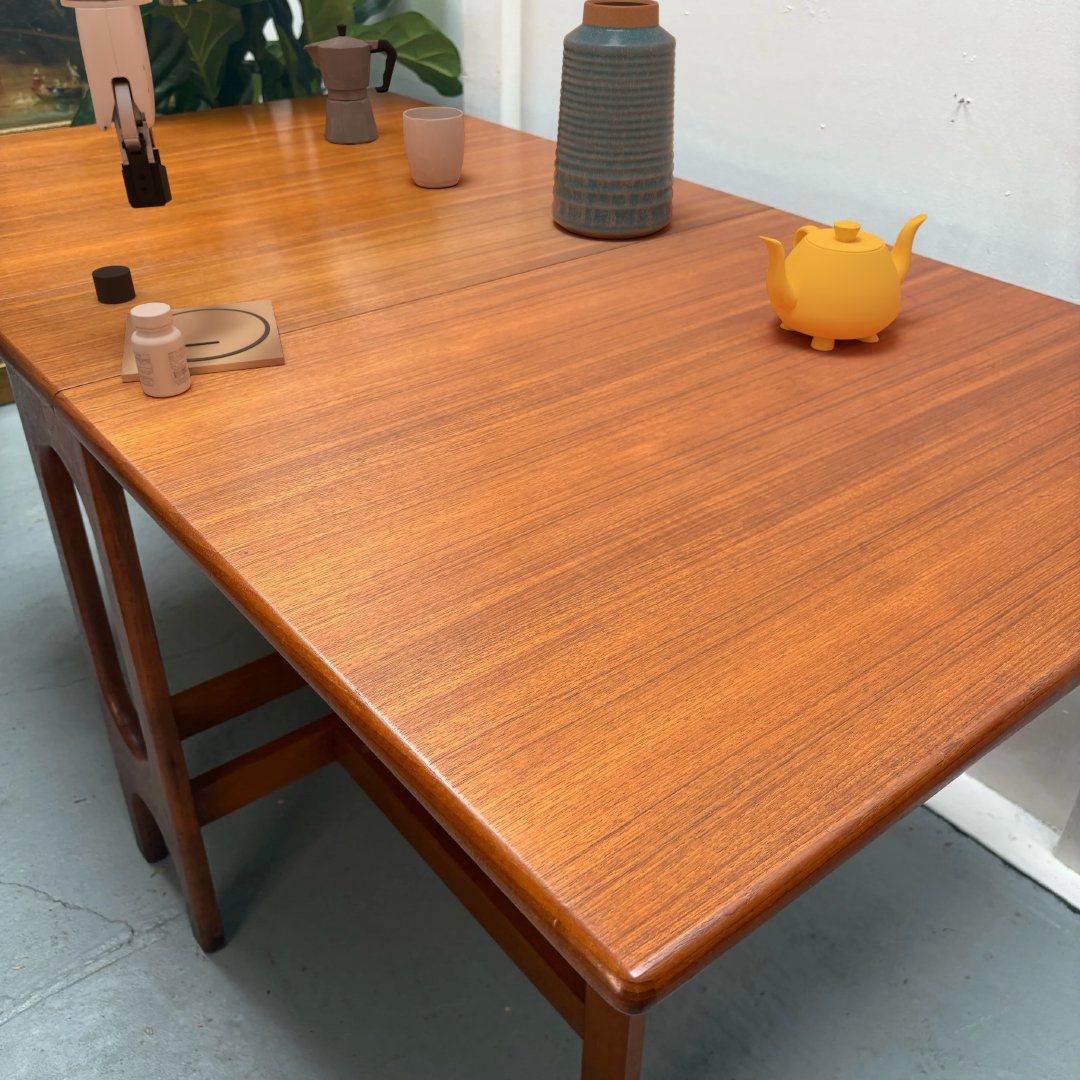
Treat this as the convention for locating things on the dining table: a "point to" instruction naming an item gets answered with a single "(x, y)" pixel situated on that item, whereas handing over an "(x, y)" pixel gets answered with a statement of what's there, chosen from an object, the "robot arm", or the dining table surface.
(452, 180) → the mug
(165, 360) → the pill bottle
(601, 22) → the vase
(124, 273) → the dot
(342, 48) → the coffeepot
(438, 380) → the dining table surface
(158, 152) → the robot arm
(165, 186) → the dot
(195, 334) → the board
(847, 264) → the teapot
